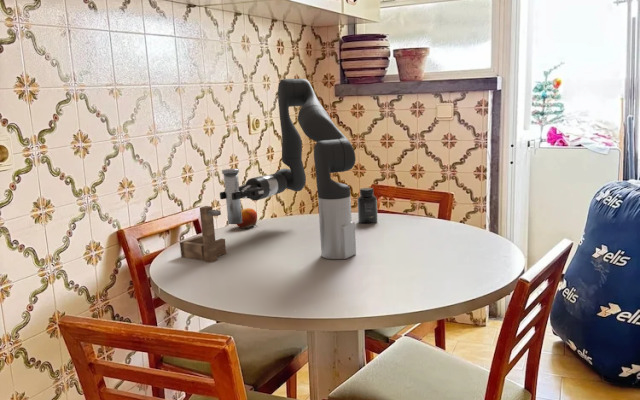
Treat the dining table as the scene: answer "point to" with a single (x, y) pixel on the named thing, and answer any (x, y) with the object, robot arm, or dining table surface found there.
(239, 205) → the pin
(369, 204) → the supplement bottle
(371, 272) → the dining table surface
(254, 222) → the fruit
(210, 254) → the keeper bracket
